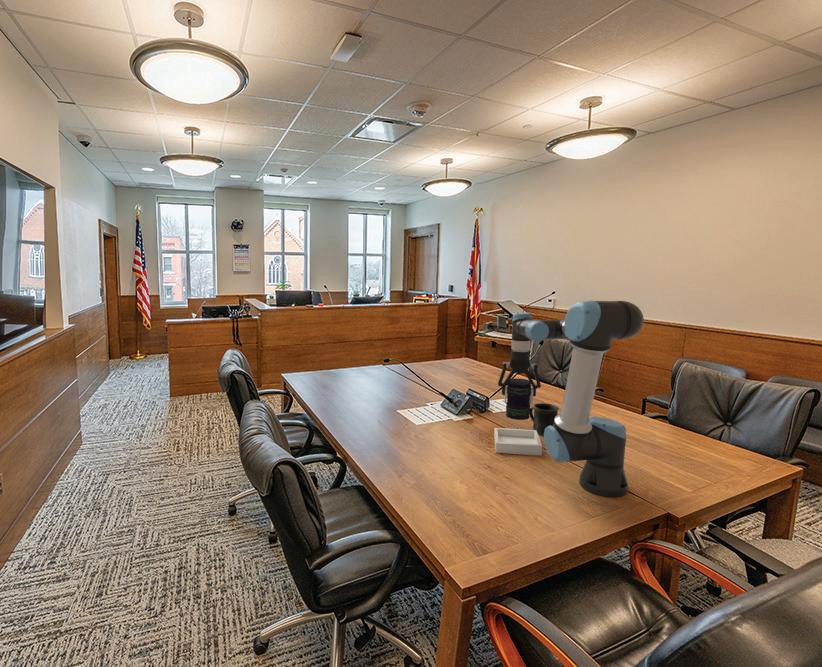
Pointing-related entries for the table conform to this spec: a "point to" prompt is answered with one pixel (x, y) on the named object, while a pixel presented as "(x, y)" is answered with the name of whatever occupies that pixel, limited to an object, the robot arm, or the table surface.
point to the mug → (543, 416)
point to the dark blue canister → (518, 399)
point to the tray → (517, 441)
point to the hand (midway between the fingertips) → (518, 403)
